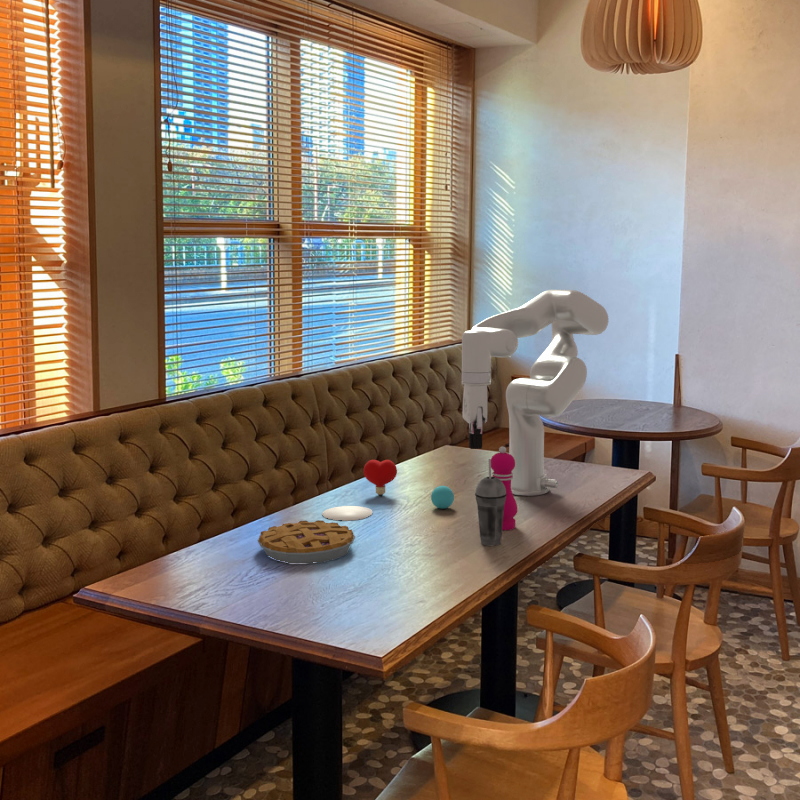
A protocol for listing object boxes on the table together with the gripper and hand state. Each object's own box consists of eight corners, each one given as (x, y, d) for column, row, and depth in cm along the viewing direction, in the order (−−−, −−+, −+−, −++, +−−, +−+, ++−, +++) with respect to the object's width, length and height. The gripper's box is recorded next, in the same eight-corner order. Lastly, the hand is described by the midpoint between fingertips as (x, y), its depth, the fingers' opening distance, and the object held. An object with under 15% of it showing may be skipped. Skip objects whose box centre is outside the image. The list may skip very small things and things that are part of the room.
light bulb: (398, 492, 260) (398, 457, 258) (396, 499, 253) (395, 463, 251) (365, 492, 261) (364, 457, 259) (362, 498, 254) (361, 462, 252)
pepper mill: (521, 524, 228) (521, 444, 225) (512, 532, 221) (512, 450, 218) (493, 521, 231) (493, 442, 228) (483, 529, 224) (483, 448, 221)
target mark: (381, 509, 242) (381, 509, 242) (357, 523, 231) (357, 522, 231) (338, 504, 248) (338, 503, 248) (312, 517, 237) (312, 516, 237)
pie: (278, 574, 196) (277, 551, 195) (245, 546, 215) (244, 525, 214) (371, 557, 206) (370, 535, 205) (332, 531, 225) (331, 511, 224)
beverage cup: (509, 539, 216) (510, 455, 213) (502, 549, 209) (503, 462, 206) (479, 536, 218) (479, 453, 215) (471, 546, 212) (471, 460, 208)
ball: (457, 506, 244) (457, 484, 243) (448, 512, 239) (448, 489, 238) (436, 504, 247) (436, 482, 246) (427, 510, 242) (427, 487, 241)
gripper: (456, 375, 246) (456, 443, 249) (467, 382, 232) (466, 454, 234) (484, 374, 247) (483, 442, 250) (496, 381, 232) (495, 453, 235)
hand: (475, 448), depth 242 cm, fingers closed
